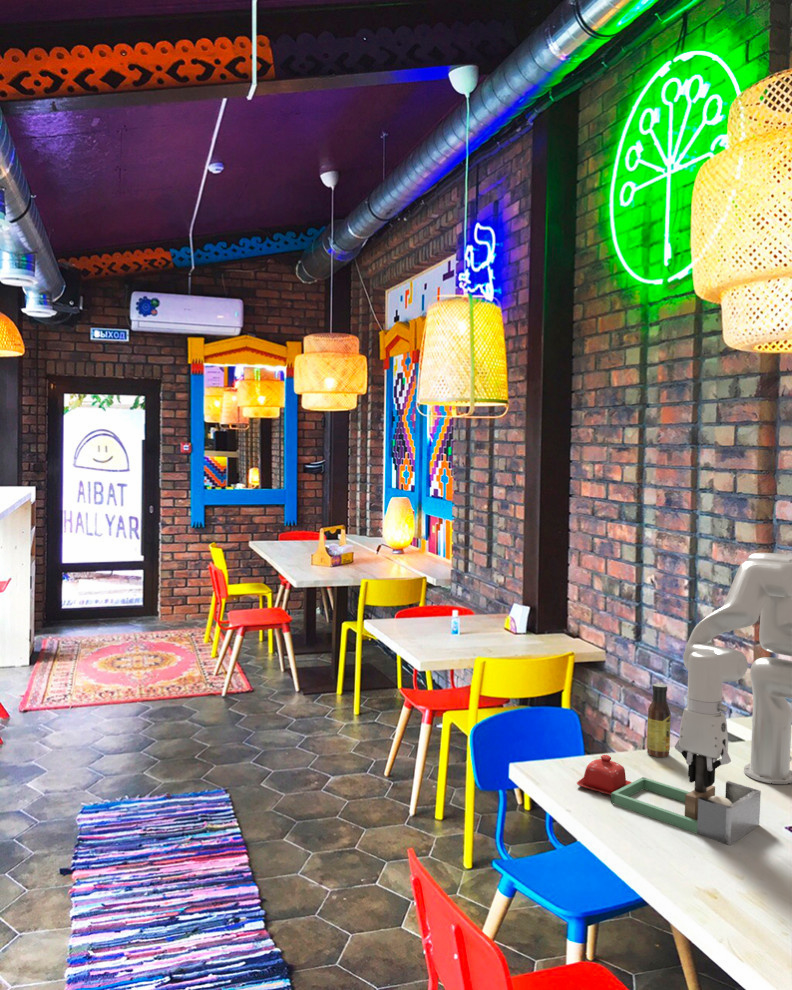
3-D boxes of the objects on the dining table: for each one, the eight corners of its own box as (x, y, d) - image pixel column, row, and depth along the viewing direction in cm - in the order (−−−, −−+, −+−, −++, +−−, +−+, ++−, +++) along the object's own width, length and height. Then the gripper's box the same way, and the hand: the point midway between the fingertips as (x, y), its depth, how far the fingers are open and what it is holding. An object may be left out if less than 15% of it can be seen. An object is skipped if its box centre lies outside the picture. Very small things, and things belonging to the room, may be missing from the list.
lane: (642, 786, 212) (643, 777, 212) (726, 814, 197) (727, 804, 197) (610, 802, 202) (611, 792, 202) (697, 833, 186) (697, 823, 186)
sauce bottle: (670, 759, 232) (673, 689, 231) (647, 757, 233) (650, 687, 232) (668, 751, 238) (670, 683, 238) (645, 749, 240) (647, 681, 239)
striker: (704, 809, 198) (706, 750, 197) (714, 813, 196) (716, 753, 195) (684, 821, 191) (686, 760, 190) (694, 825, 189) (697, 763, 189)
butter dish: (635, 787, 213) (636, 754, 212) (617, 801, 203) (618, 767, 203) (593, 775, 220) (594, 744, 219) (574, 789, 210) (575, 756, 210)
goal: (726, 814, 197) (728, 781, 196) (759, 824, 191) (760, 790, 191) (697, 833, 186) (698, 798, 186) (730, 845, 181) (731, 809, 180)
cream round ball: (735, 835, 186) (737, 806, 185) (701, 828, 189) (702, 799, 189) (738, 823, 192) (739, 795, 191) (704, 817, 195) (705, 789, 195)
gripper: (746, 710, 189) (742, 789, 190) (678, 694, 201) (676, 769, 202) (731, 717, 184) (728, 798, 185) (663, 700, 196) (660, 777, 196)
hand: (701, 782), depth 193 cm, fingers open, 3 cm apart
